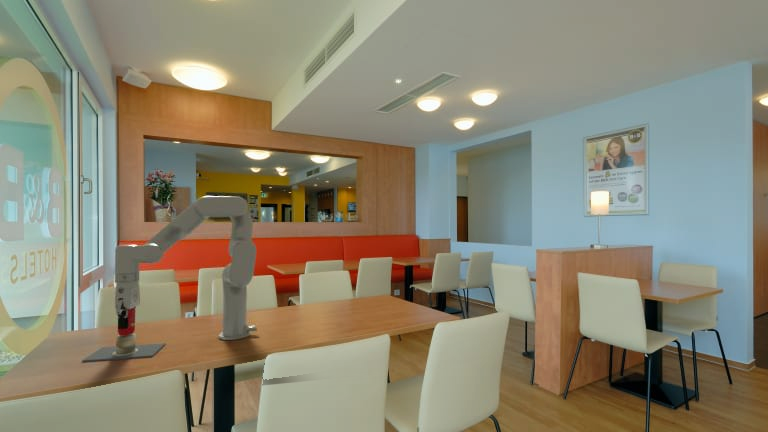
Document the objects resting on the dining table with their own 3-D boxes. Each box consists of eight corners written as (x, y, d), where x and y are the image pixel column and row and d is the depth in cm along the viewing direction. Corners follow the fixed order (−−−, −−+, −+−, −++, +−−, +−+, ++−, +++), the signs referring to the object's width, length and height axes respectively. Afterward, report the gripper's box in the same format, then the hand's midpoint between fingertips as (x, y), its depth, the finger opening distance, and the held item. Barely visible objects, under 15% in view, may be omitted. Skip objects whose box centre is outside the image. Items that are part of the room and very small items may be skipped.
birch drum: (138, 348, 140) (138, 332, 141) (130, 354, 134) (131, 337, 135) (120, 349, 139) (121, 333, 140) (112, 354, 133) (112, 338, 134)
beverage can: (126, 336, 134) (126, 303, 134) (114, 335, 135) (114, 302, 135) (138, 332, 139) (138, 300, 139) (126, 331, 140) (127, 300, 141)
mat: (165, 344, 147) (165, 342, 147) (152, 356, 134) (152, 354, 134) (102, 348, 142) (102, 347, 142) (81, 362, 128) (82, 360, 128)
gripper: (128, 280, 130) (128, 332, 130) (147, 274, 147) (146, 320, 146) (104, 281, 128) (103, 333, 128) (125, 275, 145) (125, 321, 145)
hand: (126, 326), depth 137 cm, fingers closed on beverage can, 5 cm apart
